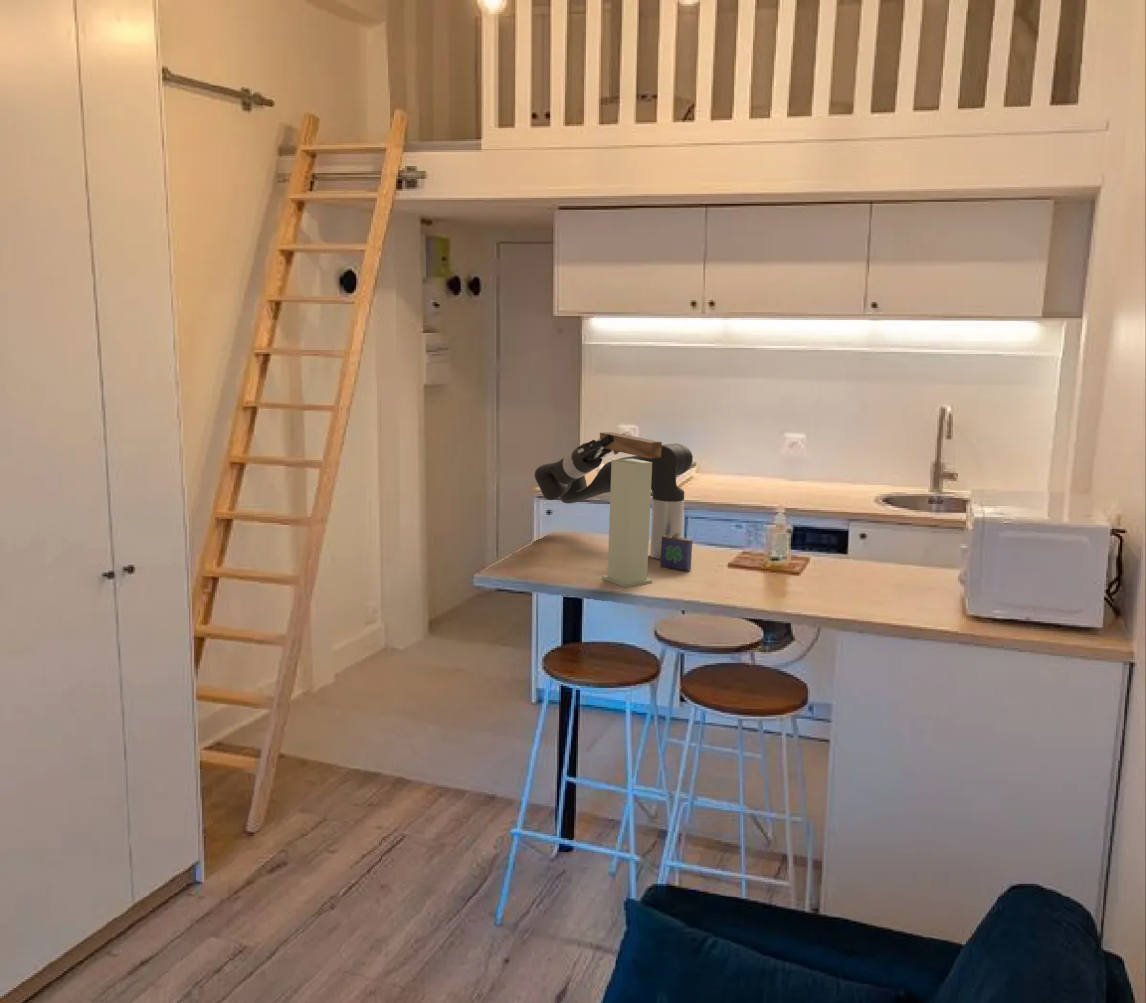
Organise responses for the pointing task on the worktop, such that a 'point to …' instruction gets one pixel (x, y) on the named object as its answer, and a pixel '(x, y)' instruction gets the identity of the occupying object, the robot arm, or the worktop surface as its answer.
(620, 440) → the rail
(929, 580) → the worktop surface
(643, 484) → the stand
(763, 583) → the worktop surface
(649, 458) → the robot arm
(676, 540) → the flask
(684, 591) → the worktop surface
